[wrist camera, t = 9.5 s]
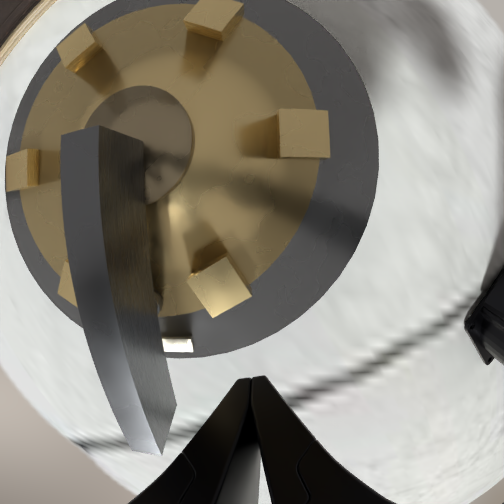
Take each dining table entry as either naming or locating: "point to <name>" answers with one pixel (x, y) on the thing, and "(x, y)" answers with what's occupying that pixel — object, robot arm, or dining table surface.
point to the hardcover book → (18, 21)
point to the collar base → (316, 217)
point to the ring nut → (164, 182)
